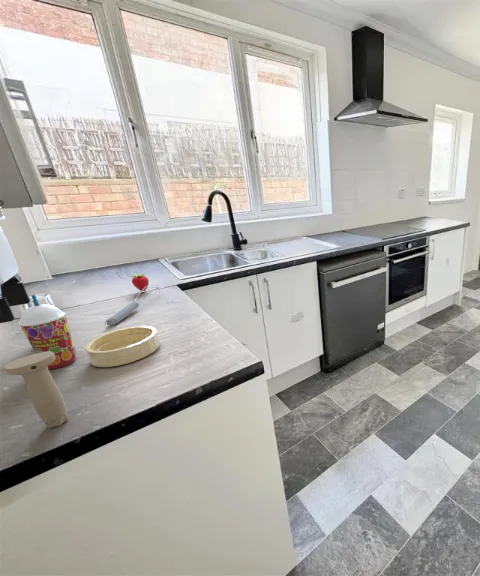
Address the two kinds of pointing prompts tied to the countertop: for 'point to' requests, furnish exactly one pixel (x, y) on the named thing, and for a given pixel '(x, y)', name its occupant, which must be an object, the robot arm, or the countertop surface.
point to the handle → (41, 386)
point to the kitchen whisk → (127, 309)
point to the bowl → (122, 346)
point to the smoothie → (48, 332)
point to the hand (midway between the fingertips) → (9, 313)
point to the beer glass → (41, 300)
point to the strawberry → (140, 282)
